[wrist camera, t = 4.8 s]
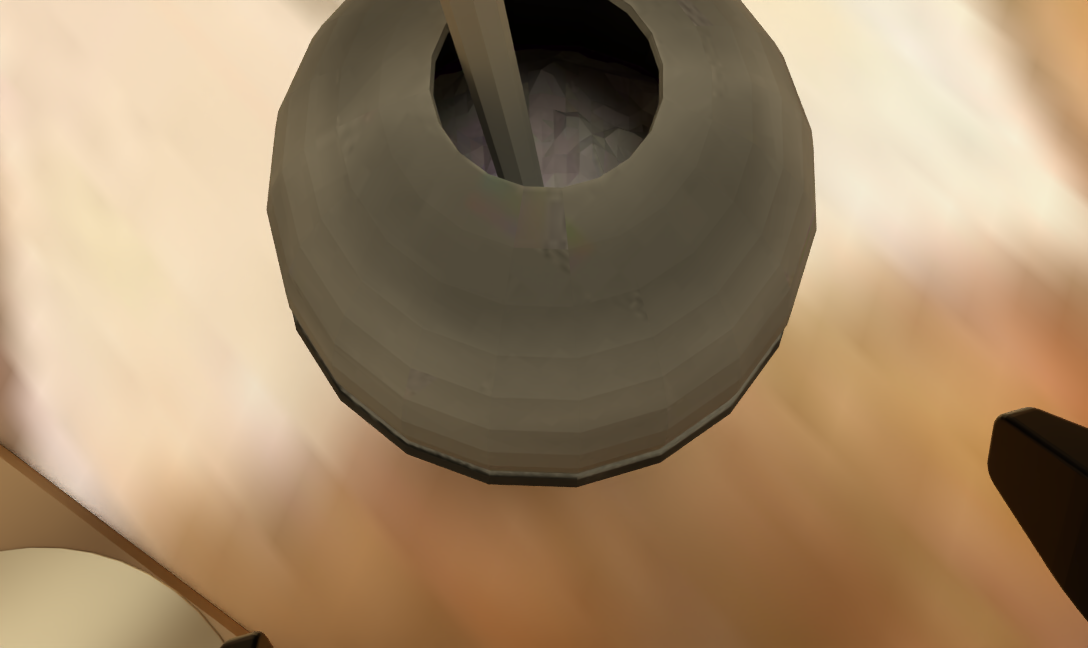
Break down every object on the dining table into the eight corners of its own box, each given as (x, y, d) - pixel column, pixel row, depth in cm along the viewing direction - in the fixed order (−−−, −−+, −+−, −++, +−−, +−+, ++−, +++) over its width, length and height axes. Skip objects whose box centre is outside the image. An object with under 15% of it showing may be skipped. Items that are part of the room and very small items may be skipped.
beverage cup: (591, 545, 22) (1155, 987, 2) (354, 410, 22) (-936, -227, 3) (715, 308, 23) (1756, -778, 3) (488, 188, 24) (273, -1302, 4)
